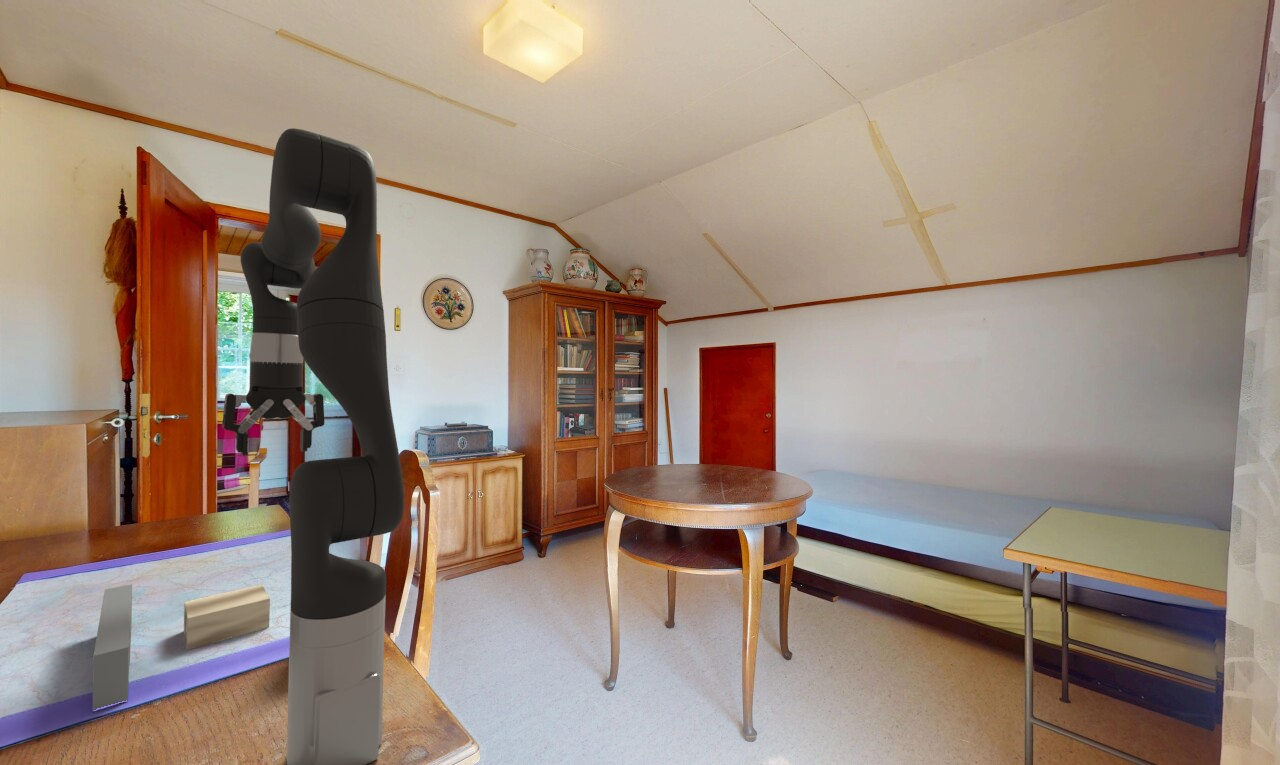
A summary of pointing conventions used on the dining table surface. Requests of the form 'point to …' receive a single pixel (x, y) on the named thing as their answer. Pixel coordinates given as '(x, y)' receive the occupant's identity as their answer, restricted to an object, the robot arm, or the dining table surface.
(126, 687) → the grey block
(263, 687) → the dining table surface
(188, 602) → the birch block
